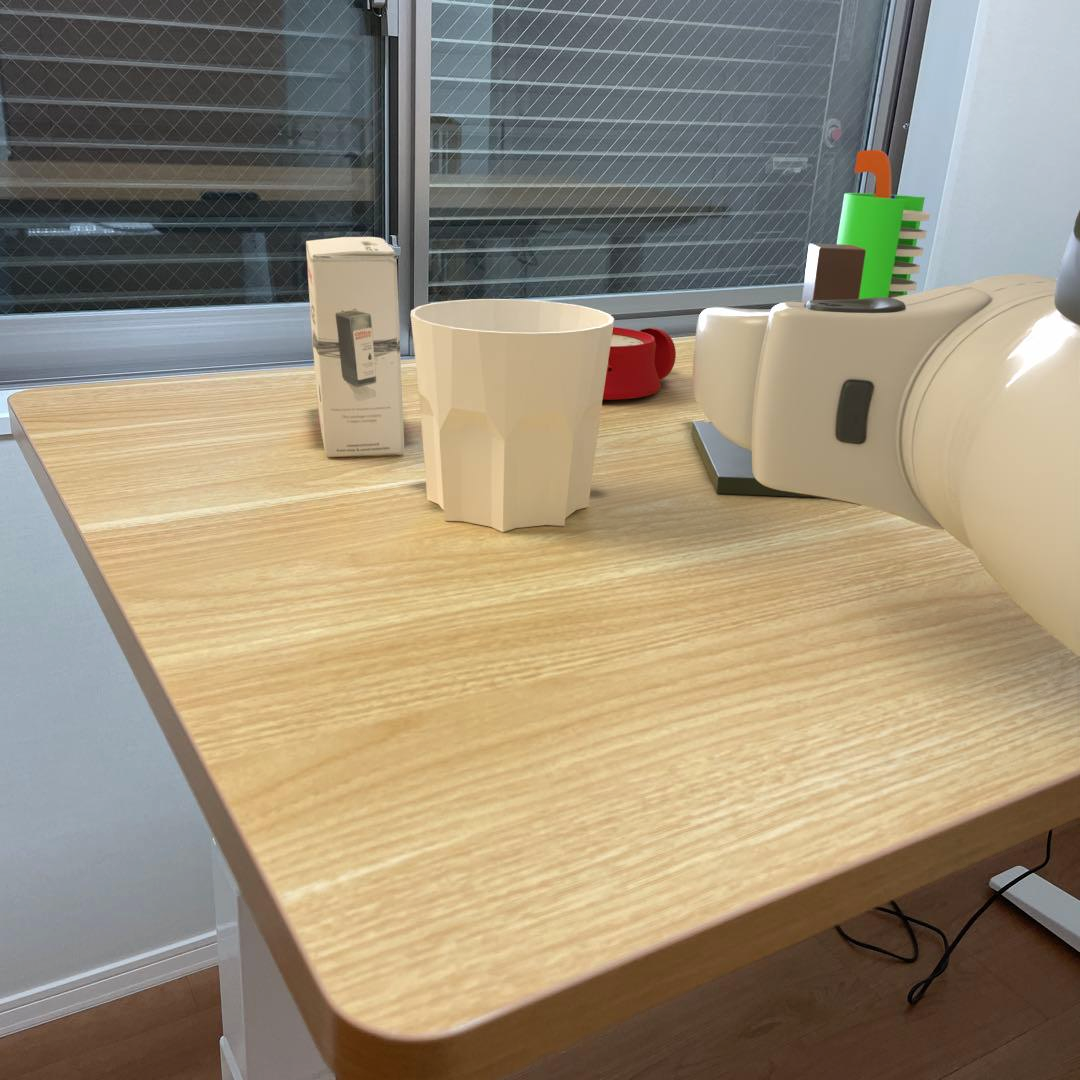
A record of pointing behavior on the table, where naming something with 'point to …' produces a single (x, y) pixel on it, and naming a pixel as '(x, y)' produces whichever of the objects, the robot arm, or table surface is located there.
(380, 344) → the ink box
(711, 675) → the table surface
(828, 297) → the eraser
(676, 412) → the table surface
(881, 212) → the green hooked bin
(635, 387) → the alarm clock
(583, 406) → the cup
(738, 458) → the board
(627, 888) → the table surface
